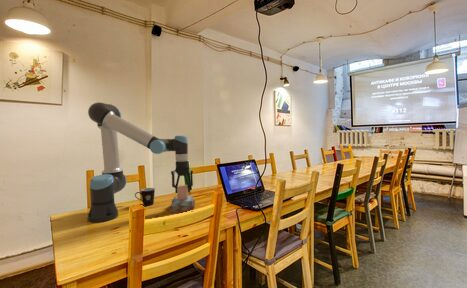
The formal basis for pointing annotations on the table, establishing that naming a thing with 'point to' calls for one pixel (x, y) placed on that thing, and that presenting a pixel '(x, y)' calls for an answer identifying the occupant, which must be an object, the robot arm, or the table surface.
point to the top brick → (182, 192)
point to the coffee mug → (147, 196)
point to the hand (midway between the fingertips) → (183, 197)
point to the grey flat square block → (182, 204)
